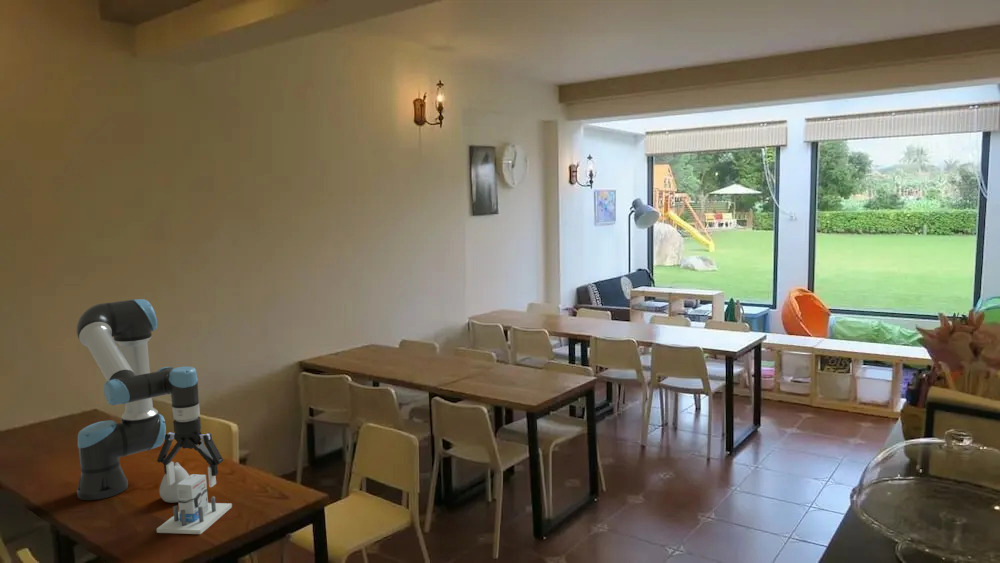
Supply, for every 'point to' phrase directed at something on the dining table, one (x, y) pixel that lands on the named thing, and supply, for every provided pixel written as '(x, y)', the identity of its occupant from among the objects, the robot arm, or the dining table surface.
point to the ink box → (192, 496)
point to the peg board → (200, 524)
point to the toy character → (170, 491)
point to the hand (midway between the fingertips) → (192, 484)
